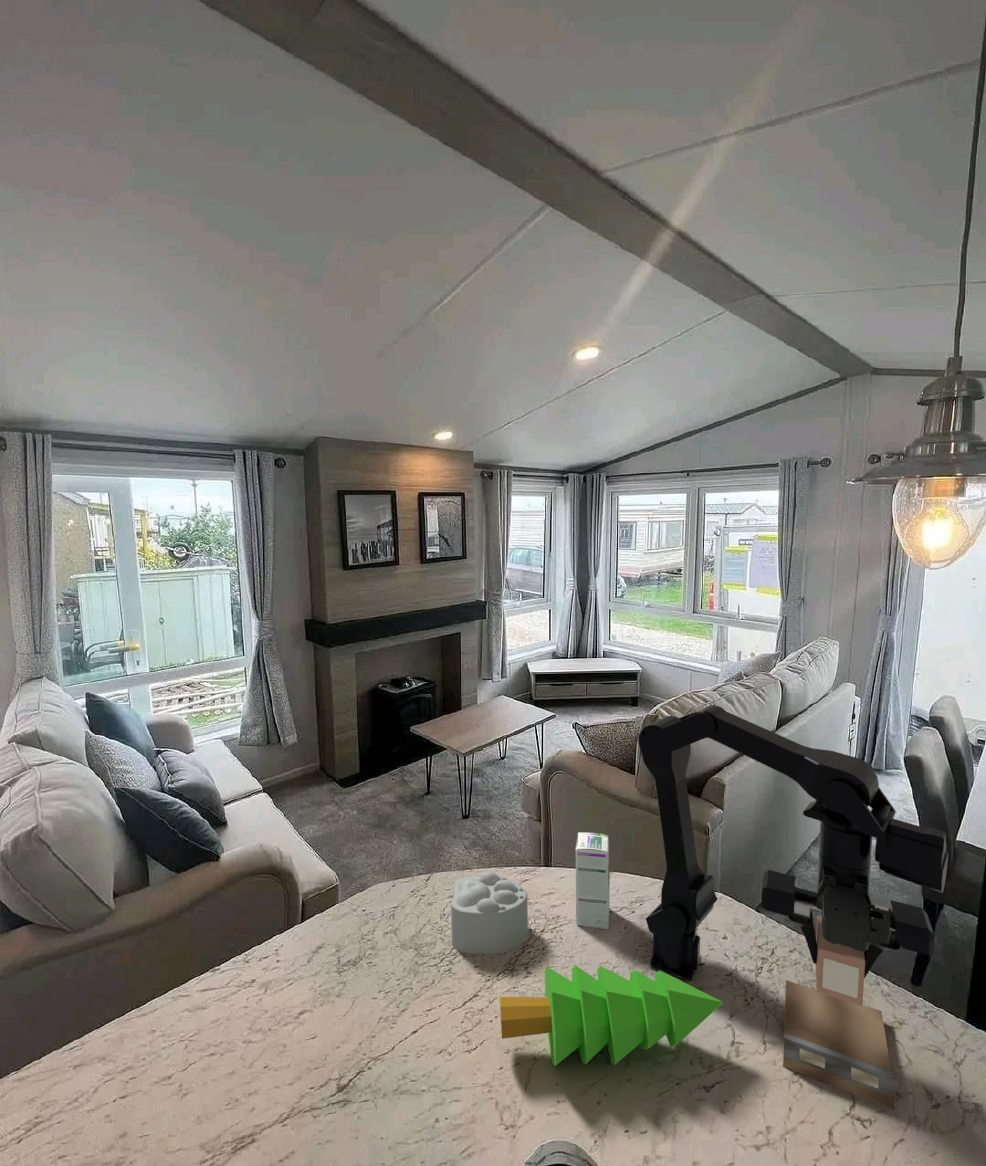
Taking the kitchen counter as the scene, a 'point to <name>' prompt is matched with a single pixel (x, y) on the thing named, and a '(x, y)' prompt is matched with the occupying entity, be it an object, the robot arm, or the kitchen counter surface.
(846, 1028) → the tan banded flat block
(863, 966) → the product carton
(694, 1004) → the decorative tree
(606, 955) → the kitchen counter surface
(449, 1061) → the kitchen counter surface
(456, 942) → the lumpy-topped squat cylinder
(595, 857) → the syrup box
